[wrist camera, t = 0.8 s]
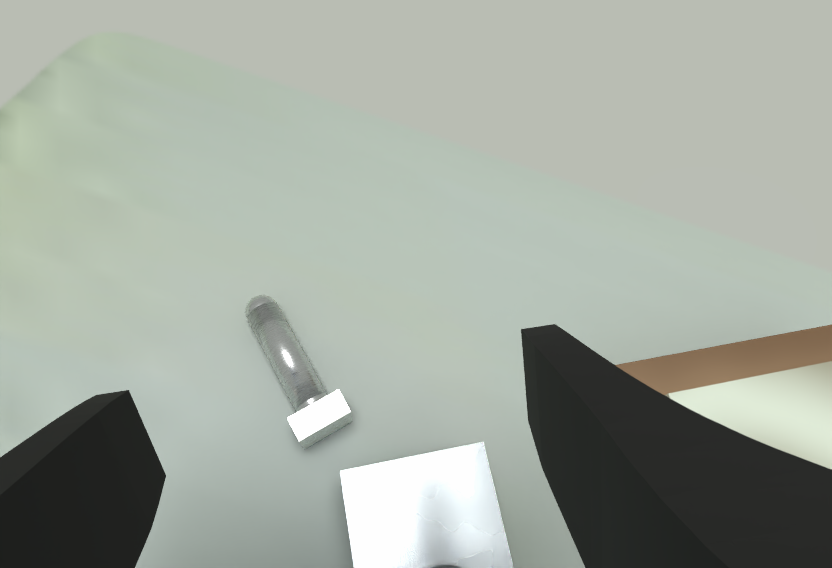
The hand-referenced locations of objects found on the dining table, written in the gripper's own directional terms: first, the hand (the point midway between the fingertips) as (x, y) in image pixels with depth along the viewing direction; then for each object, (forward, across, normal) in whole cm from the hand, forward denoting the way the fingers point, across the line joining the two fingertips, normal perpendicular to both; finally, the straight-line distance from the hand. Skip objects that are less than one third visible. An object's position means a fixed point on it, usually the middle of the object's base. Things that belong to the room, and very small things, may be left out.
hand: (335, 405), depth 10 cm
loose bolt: (+12, +4, +7) cm, 15 cm away
